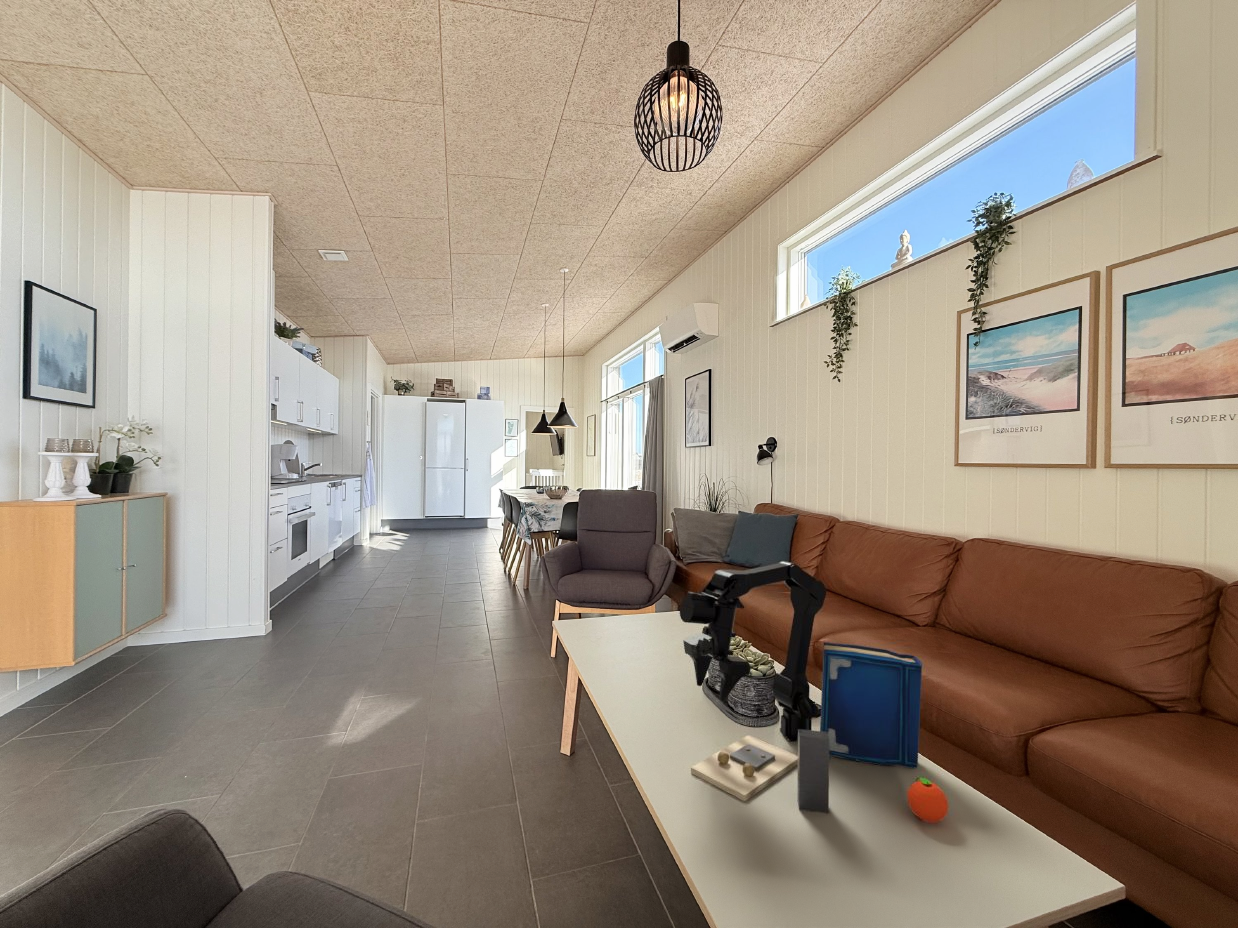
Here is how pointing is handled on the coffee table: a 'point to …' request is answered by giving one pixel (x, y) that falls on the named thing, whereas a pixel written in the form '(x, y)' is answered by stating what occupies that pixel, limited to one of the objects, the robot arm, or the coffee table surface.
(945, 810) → the clementine
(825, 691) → the book
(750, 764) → the board
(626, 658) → the coffee table surface
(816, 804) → the grey block
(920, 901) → the coffee table surface
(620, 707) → the coffee table surface
